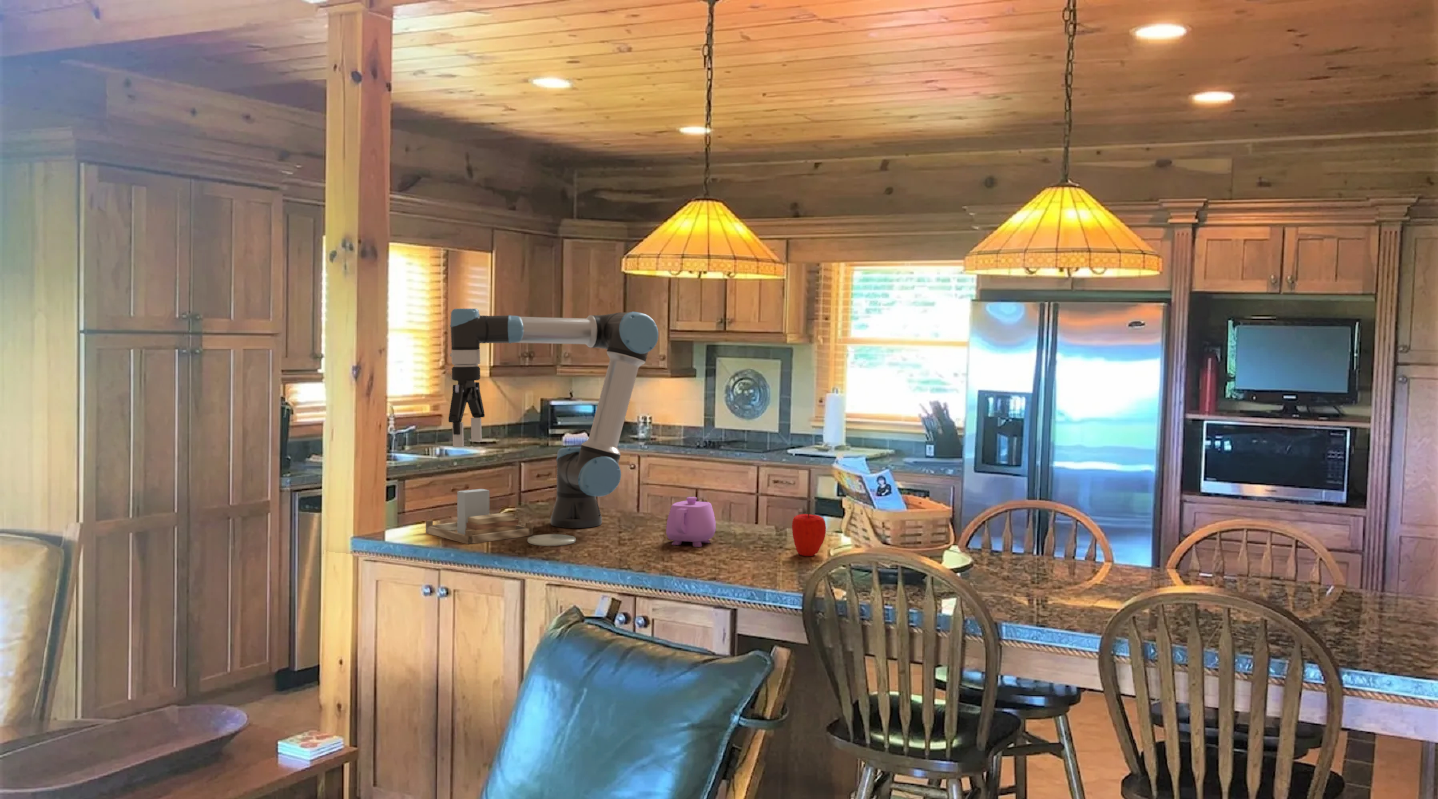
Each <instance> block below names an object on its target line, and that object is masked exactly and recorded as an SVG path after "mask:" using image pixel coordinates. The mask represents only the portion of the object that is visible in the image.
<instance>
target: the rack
mask: <svg viewBox="0 0 1438 799" xmlns="http://www.w3.org/2000/svg"><path fill="white" fill-rule="evenodd" d="M489 514H492V513H490V512H489ZM456 531H457V521H456V522H447V523H438V524H434V520H429V519H428V520H425V534H429V535H433V536H435V537H436V536H437V537H439V538H443V539H447V540H451V541H456V542H459V543H462V544H467V545H472V544H479V543H484V542H485V543H487V542H493V541H501V540H508V539H516V538H522V537H523V538H524V537H531V536H534V523H533V522H525V526H524V525H520V524H518V525H516V530H510V531H502V532H494V533H487V534H479V535H472V530H465V535H464V534H460V533H457V532H456Z"/></svg>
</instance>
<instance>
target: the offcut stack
mask: <svg viewBox="0 0 1438 799" xmlns="http://www.w3.org/2000/svg"><path fill="white" fill-rule="evenodd" d="M516 525H519V519H518V518H516V517H515V514H512V513H509V512H500V513H491V514H489V515H481V516H472V517H468V523H466V530H472V535H479V534H487V533H494V532H502V531H510V530H516Z"/></svg>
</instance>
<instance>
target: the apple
mask: <svg viewBox="0 0 1438 799" xmlns="http://www.w3.org/2000/svg"><path fill="white" fill-rule="evenodd" d="M826 525H827V524H826V521H825V519H824V518H823V516H821V515H817V514H810V513H802V514H800V513H799V514H797V515H795V516H793V519H792V523H791V530H792V538H793V542H794V547H795V550H796V552H797V553H798V555H800V556H804V557H813V556H815V555H816V554H818V553H819V550H820V549H821V547H822V545H823V543H824V541H825V538H826V532H827V526H826Z"/></svg>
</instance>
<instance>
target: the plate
mask: <svg viewBox="0 0 1438 799" xmlns="http://www.w3.org/2000/svg"><path fill="white" fill-rule="evenodd" d="M576 538H577V537H575V536H573V535H568V534H559V533H558V534H557V533H553V534H537V535H531V536H528V537H527V543H528V544H530V545H535V546H542V547H546V546H547V547H554V546H555V547H556V546H566V545H573V544H574V543H575V542H576Z"/></svg>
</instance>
